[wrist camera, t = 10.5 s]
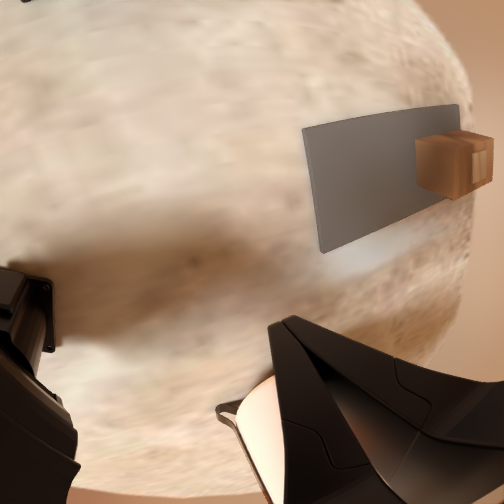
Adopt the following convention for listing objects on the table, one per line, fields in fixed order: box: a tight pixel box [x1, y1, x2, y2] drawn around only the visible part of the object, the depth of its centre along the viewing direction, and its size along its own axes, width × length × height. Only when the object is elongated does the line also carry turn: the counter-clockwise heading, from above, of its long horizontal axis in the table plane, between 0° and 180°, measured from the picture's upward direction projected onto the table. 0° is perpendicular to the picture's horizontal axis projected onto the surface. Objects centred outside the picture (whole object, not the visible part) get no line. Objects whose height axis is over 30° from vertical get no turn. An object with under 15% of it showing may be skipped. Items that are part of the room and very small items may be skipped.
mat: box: [302, 104, 460, 254], centre depth 24 cm, size 20×10×1 cm, turn 103°
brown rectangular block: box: [415, 130, 494, 200], centre depth 23 cm, size 5×5×8 cm
